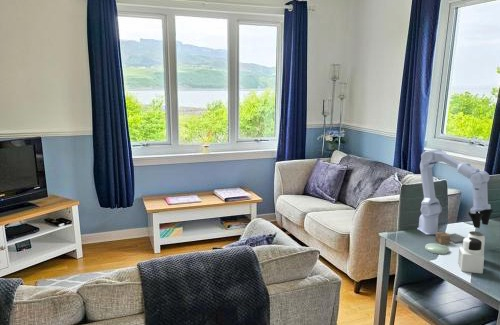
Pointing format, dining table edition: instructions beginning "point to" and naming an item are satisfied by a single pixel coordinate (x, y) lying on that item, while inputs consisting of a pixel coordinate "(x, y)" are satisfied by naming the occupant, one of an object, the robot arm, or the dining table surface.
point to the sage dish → (436, 248)
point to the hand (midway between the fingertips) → (481, 226)
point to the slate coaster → (456, 238)
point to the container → (471, 256)
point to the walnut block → (442, 238)
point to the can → (478, 236)
